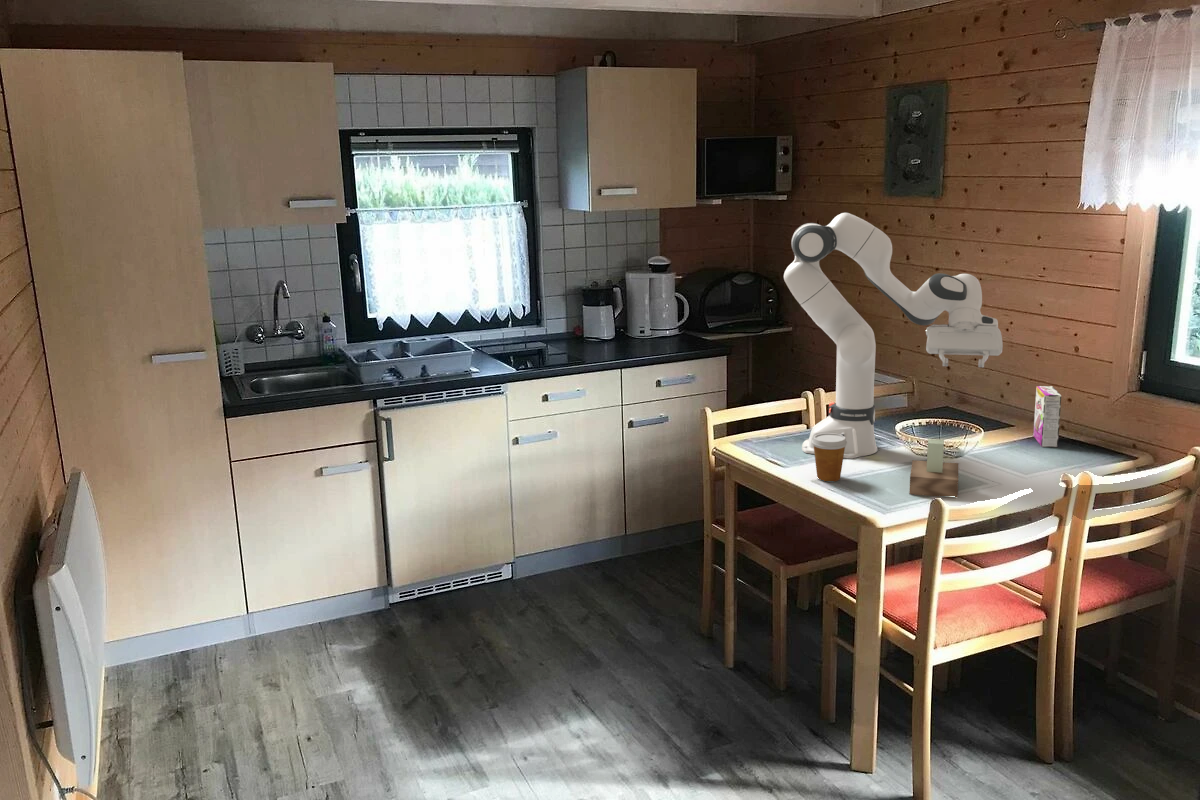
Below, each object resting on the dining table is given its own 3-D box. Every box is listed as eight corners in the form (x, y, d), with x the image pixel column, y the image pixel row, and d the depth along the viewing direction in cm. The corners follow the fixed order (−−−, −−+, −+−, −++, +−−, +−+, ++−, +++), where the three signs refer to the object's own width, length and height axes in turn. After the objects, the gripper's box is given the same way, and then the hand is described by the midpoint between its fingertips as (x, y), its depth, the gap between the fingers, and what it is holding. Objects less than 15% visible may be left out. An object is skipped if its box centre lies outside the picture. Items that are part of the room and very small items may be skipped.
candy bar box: (1031, 436, 296) (1035, 385, 292) (1049, 437, 295) (1053, 385, 291) (1040, 447, 286) (1044, 394, 282) (1058, 447, 285) (1062, 394, 281)
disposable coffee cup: (809, 472, 272) (810, 432, 269) (843, 472, 271) (844, 432, 268) (813, 484, 263) (813, 442, 260) (848, 483, 262) (849, 442, 259)
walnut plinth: (909, 494, 253) (910, 476, 251) (911, 477, 265) (912, 460, 264) (957, 497, 248) (958, 479, 247) (957, 480, 261) (958, 463, 260)
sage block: (926, 471, 254) (927, 443, 252) (926, 466, 258) (928, 438, 256) (942, 472, 253) (943, 444, 251) (942, 468, 257) (943, 439, 255)
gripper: (926, 318, 273) (924, 358, 267) (1003, 319, 266) (1002, 360, 260) (926, 330, 278) (923, 370, 272) (1001, 332, 271) (1001, 373, 265)
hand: (963, 365), depth 266 cm, fingers open, 8 cm apart
